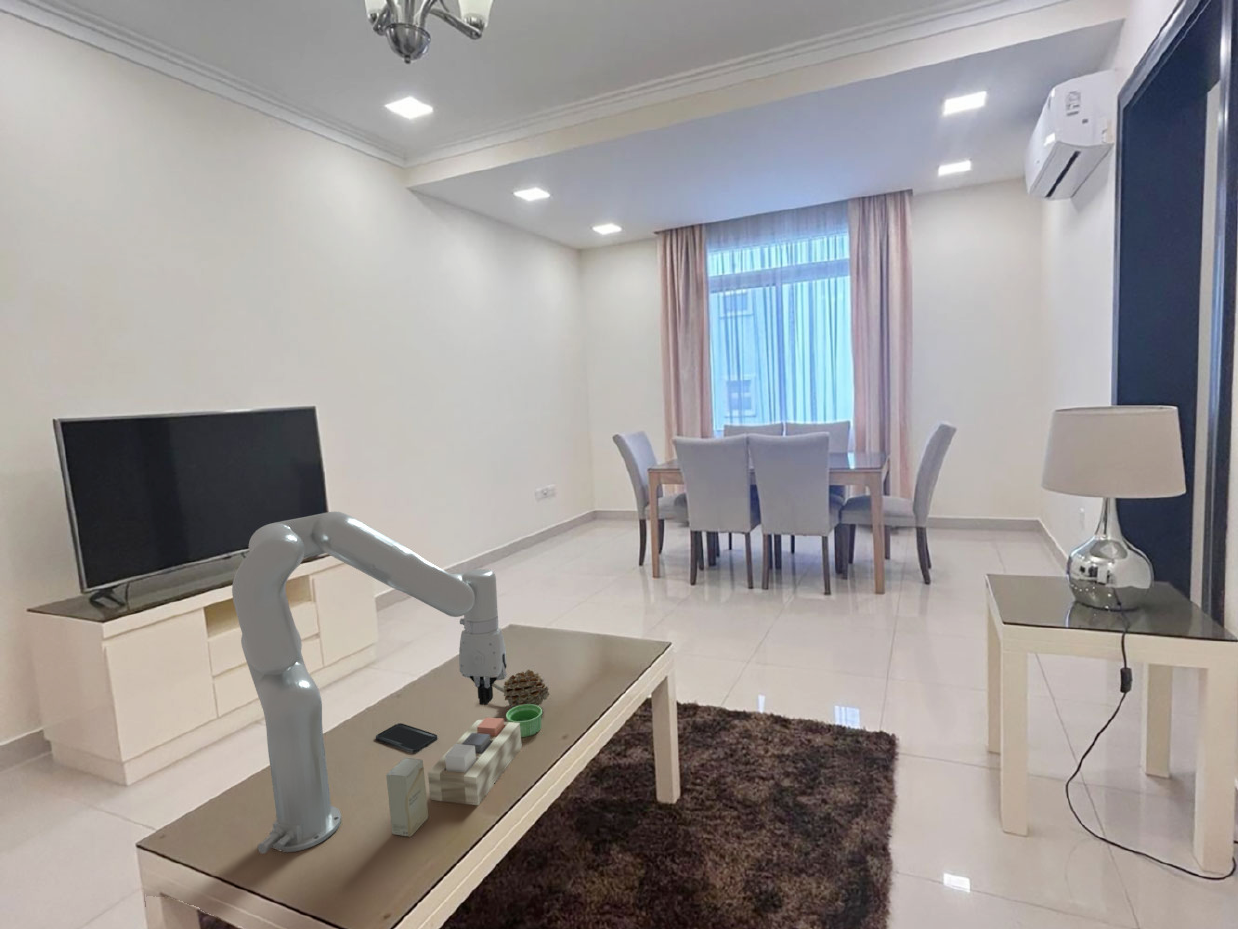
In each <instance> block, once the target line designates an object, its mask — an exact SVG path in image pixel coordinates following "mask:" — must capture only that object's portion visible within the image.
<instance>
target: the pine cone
mask: <svg viewBox="0 0 1238 929" xmlns="http://www.w3.org/2000/svg"><path fill="white" fill-rule="evenodd" d="M544 681H545V678H542V676H541V675H539V673H538V672H536V673H534V671H533V670H530V669H526V671H521V672H518V673H516V674H515V675H514V674H512V675H511V676H510V677H508V679H507V680H505V681H504V683H503V684H504V685H503V686H501V685H500V684H499V683H497V681H495V682H494V683H493V684H492V686H493V688H495V689H497V690H498V691H500V692H501V693H503V697H504V701H508V706H512V707H515V706H519V705H524V704H533V705H537V706H539V707H540V705H542V703H544V702H543V701H546V700H547V699H548V697H549V696H550V693H549V692H550V691H548V690H549V686H548V685H546V682H544Z"/></svg>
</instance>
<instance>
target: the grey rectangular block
mask: <svg viewBox="0 0 1238 929" xmlns="http://www.w3.org/2000/svg"><path fill="white" fill-rule="evenodd" d="M490 744H491V740H490V734H481V733H471V734H470V735H469V736H468V738H467V739H466V740H465V741H464V742H463V743H462V745H473V746H475V753H477V754H483V753H484V751H485V750H486V749H487V748H488V747H489V746H490Z"/></svg>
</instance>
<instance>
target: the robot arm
mask: <svg viewBox="0 0 1238 929" xmlns="http://www.w3.org/2000/svg"><path fill="white" fill-rule="evenodd" d="M248 542H249V543H248V552H249V553H248V554H247V556H245V557H244V559H243V560H242V561H241V562H240V565H238V566H239V567H238V568H237V570H236V572H235V574H234V578H233V580H232V586H231V587H232V588H231V593H232V595H231V596H232V602H233V605H234V610H235V613H236V616H237V620H238V625H239V627H240V630H241V636H240V637H241V639H240V642H241V648H242V651H243V655H244V657H245V660H246V663H247V666H248V670H249V673H250V675H251V678H252V682H253V685H254V688H255V691H256V694H257V696H258V699H259V701H260V705H261V708H262V712H263V715H264V720H265V729H266V740H267V752H268V760H269V765H270V766H269V767H270V774H271V782H272V784H271V785H272V791H273V799H274V807H275V808H274V809H275V815H276V820H275V821H274V822H273V823H272V829H271V831H270V834H269V836H268V837H265V838H264V840H262V841H261V842H260V843H259V844H258V845H257V849H258V851H259V853H260V854H265V853H267V852H268V851H269V850H270V849H274V848H276V849H278V850H281V851H284V853H293V852H299V851H303V850H307V849H310V848H312V847H315V846H317V845H318V844H321V843H322V842H324V841H325V840H327V839H328V838H329V837H331V836H332V835H333V834H334V833H335V832H336V831H337V829H338V828H339V827H340V824H341V823H342V814H341V811H340V810H339V809H338V808H337V807H335V806H334V805H332V804H331V803H332V802H331V792H330V784H329V775H328V774H329V773H328V766H327V765H328V764H327V757H326V749H325V743H324V742H325V741H324V731H323V703H322V696H321V693H320V690H319V688H318V685H317V683H316V682H315V680H314V679H313V677H312V676H311V675H310V673H309V672H308V669H307V667H306V663H305V660H304V658H303V655H302V647H303V644H302V638H301V635H300V632H299V631H298V629H297V626H296V624H295V620H294V618H293V615H292V612H291V611H292V610H291V608H290V604H289V599H288V596H287V591H286V590H287V589H286V586H287V582H288V580H289V577H290V576H291V575H292V573H294V571H295V570H297V568H298V567H299V566H300V564H301V563H303V560H304V559H306V558H310V557H316V556H319V555H322V554H328V555H329V556H331V557H333V558H335V559H337V560H338V561H340V562H342V563H345V564H346V565H348V566H349V567H352V568H354V569H356V570H357V571H360V572H362V573H364V574H365V575H368V576H369V577H371V578H373V579H375V580H377V581H379V582H380V583H382V584H384V585H386V586H388V587H390V588H392V589H394V590H396V591H399V592H402V593H404V594H406V595H408V596H410V597H413V598H414V599H415V600H418V601H420V602H422V603H424V604H425V605H428V606H429V607H431V608H433V609H435V610H437V611H439V612H441V613H443V614H445V615H447V616H448V617H453V618H458V617H462V616H463V618H460V620H459V625H463V629H462V631H461V634H460V641H459V647H458V648H459V650H458V651H459V652H458V653H459V654H458V668H459V672H460V673H461V675H462V677H465V678H468V679H470V680H471V681H472V682H473V683H474V686H475V687H476V688H477V699H478V701H479V702H478V703H479V705H480V706H481V705H484V706H487V705H488V704H489V703H490V702H491V701H492V699H493V697H494V692H493V689H494V687H493V686H492V684H493V683H494V682H497V681H502V680H505V679H506V678H507V677H508V675H507V671H506V669H507V668H508V667H507V666H508V665H507V664H508V663H507V662H508V661H507V651H506V645H505V639H504V635H503V631H502V629H501V627H500V628H499V615H498V614H499V613H498V592H497V576H496V574H495V572H494V571H493V570H491V569H487V568H486V569H483V568H482V569H481V568H480V569H474V570H470V571H467V572H465V573H464V572H462V573H460V572H458V573H449V572H448V571H445V570H444V569H443V568H440V567H439V566H436V565H434V563H431V562H430V561H428V560H426V559H425V558H423V557H421V555H419V554H418V553H417V552H415V551H414V550H412V549H410V548H408V547H407V546H405V545H403V544H402V543H400V542H398V541H396V540H395V539H392V538H391V537H389V536H387V535H385V534H384V533H382V532H380V531H378V530H376V529H375V528H374V527H372V526H369V525H368V524H366V523H364V522H362V521H361V520H359V519H357V518H355V517H353V516H352V515H348V514H347V513H345V512H341V511H328V512H322V513H318V514H313V515H308V516H304V517H298V518H293V519H287V520H281V521H277V522H273V523H269V524H268V523H267V524H265V525H263V526H262V527H259V528H258V529H257V530H255V532H254V533H253V534H252V535H251V537H250V538H249V541H248ZM272 847H273V848H272ZM278 850H277V851H278ZM281 851H280V852H281Z"/></svg>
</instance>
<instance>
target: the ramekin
mask: <svg viewBox="0 0 1238 929" xmlns="http://www.w3.org/2000/svg"><path fill="white" fill-rule="evenodd" d="M542 716H543V709H542V708H541V707H540V705H539V706H537V705H535V704H534V705H533V704H524V705H519V706H518V705H515V706H512V708H510V709H509V710H507V712H506V714H505V718H506V720H507V721H506V722H515V723H520V732H521V738H526V737H531V736H533V735H535V734H537V733H538V732H539V731H541V729H542ZM536 732H537V733H536Z"/></svg>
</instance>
